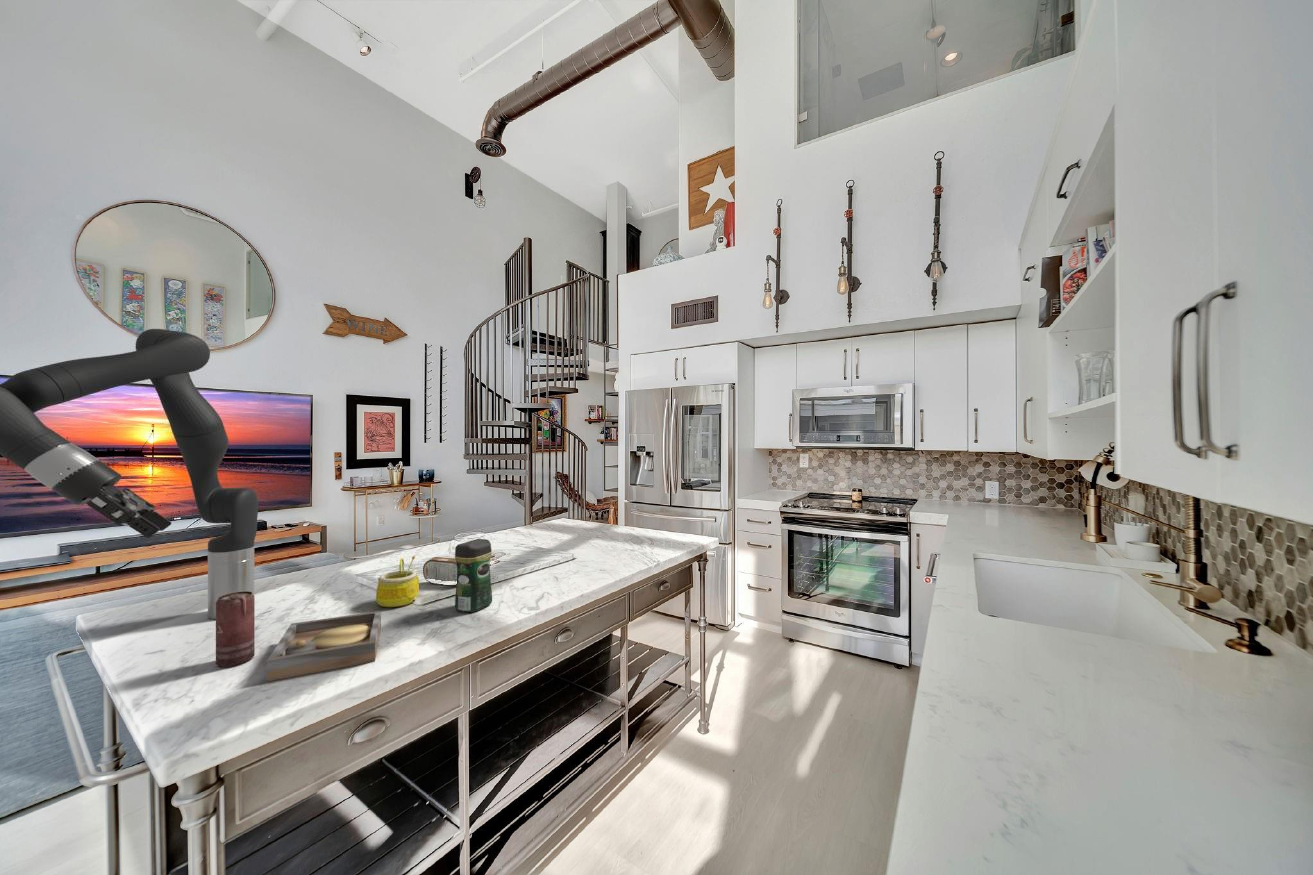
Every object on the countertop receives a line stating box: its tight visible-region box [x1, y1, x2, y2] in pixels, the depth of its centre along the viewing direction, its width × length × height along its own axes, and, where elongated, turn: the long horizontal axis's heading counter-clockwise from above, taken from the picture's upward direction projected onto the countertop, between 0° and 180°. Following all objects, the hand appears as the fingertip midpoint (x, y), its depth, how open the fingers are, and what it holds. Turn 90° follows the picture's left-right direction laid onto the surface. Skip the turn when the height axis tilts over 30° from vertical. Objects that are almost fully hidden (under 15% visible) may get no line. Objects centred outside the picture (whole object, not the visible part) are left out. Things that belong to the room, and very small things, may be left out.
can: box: [215, 591, 256, 669], centre depth 99 cm, size 6×6×14 cm
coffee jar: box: [454, 538, 493, 613], centre depth 131 cm, size 10×8×19 cm
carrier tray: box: [266, 610, 382, 682], centre depth 104 cm, size 20×18×5 cm
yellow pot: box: [375, 555, 420, 608], centre depth 135 cm, size 13×11×12 cm
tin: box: [422, 556, 457, 582], centre depth 150 cm, size 15×3×8 cm, turn 77°
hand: (161, 530), depth 93 cm, fingers open, 8 cm apart
